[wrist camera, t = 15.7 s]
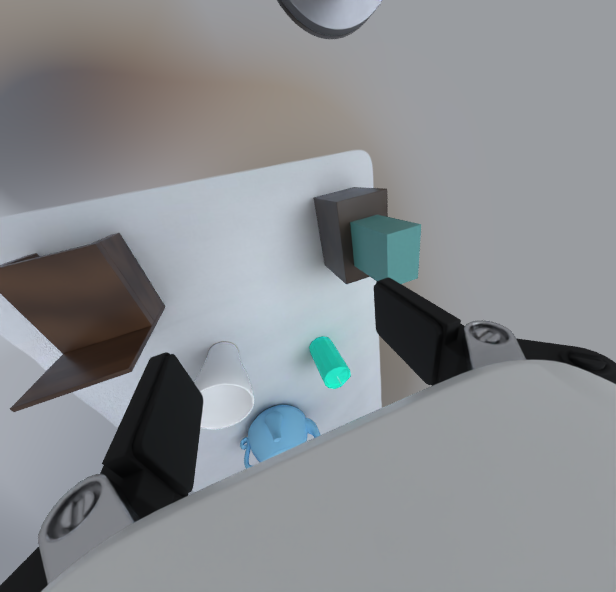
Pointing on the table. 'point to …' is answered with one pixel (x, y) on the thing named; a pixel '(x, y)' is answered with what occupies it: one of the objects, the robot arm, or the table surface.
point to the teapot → (277, 432)
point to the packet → (386, 248)
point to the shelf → (83, 312)
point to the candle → (329, 362)
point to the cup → (224, 388)
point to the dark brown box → (345, 226)
